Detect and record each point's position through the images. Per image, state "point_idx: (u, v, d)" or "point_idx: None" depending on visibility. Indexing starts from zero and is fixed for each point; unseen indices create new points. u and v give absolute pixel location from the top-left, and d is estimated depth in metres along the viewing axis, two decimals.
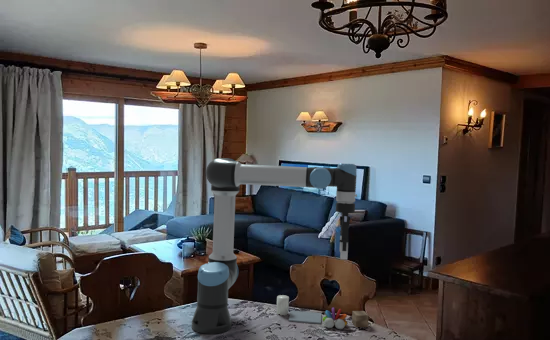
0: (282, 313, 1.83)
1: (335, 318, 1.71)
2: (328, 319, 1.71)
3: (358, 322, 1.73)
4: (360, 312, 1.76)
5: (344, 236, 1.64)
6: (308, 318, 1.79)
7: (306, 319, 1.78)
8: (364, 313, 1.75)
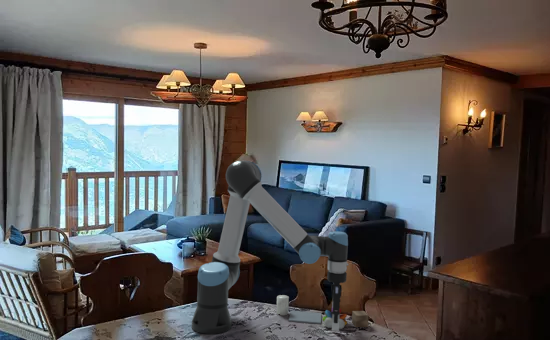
0: (282, 313, 1.83)
1: None
2: (328, 319, 1.71)
3: (358, 322, 1.73)
4: (360, 312, 1.76)
5: (335, 309, 1.64)
6: (308, 318, 1.79)
7: (306, 319, 1.78)
8: (364, 313, 1.75)
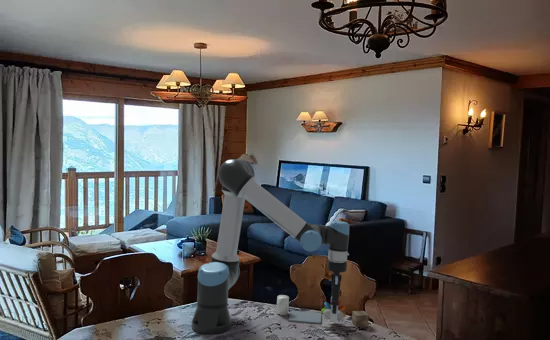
0: (282, 313, 1.83)
1: None
2: (327, 310, 1.71)
3: (358, 322, 1.73)
4: (360, 312, 1.76)
5: (334, 300, 1.66)
6: (308, 318, 1.79)
7: (306, 319, 1.78)
8: (364, 313, 1.75)
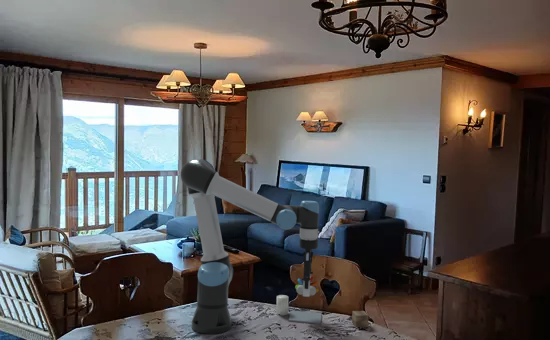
0: (282, 313, 1.83)
1: None
2: (300, 286, 1.78)
3: (358, 322, 1.73)
4: (360, 312, 1.76)
5: (306, 275, 1.73)
6: (308, 318, 1.79)
7: (306, 319, 1.78)
8: (364, 313, 1.75)
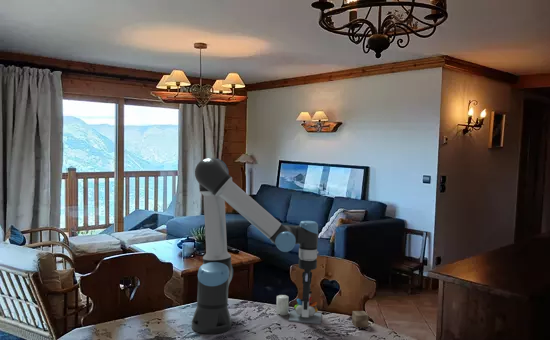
0: (283, 313, 1.83)
1: None
2: (299, 306, 1.78)
3: (358, 322, 1.73)
4: (360, 312, 1.76)
5: (305, 296, 1.73)
6: (308, 318, 1.79)
7: (306, 319, 1.78)
8: (364, 313, 1.75)
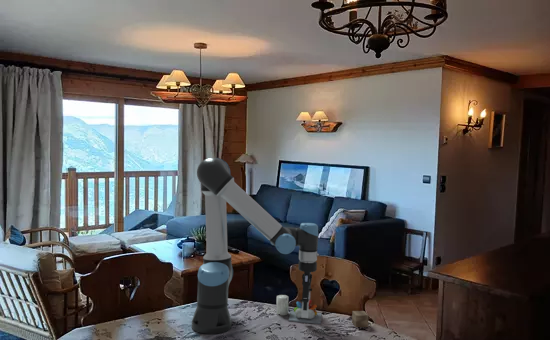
0: (283, 313, 1.83)
1: None
2: (299, 310, 1.78)
3: (358, 322, 1.73)
4: (360, 312, 1.76)
5: (304, 296, 1.72)
6: None
7: (306, 319, 1.78)
8: (364, 313, 1.75)
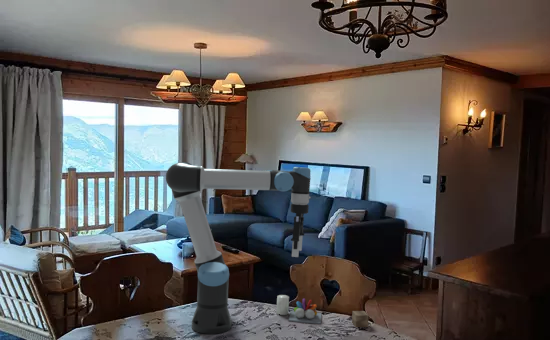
0: (283, 313, 1.83)
1: (305, 308, 1.79)
2: (299, 309, 1.78)
3: (358, 322, 1.73)
4: (360, 312, 1.76)
5: (295, 235, 1.76)
6: None
7: (306, 319, 1.78)
8: (364, 313, 1.75)
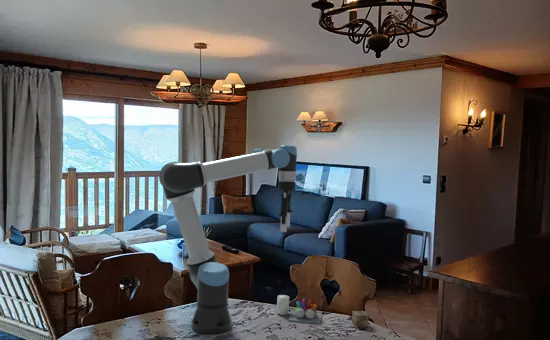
0: (284, 313, 1.83)
1: (305, 308, 1.79)
2: (299, 309, 1.78)
3: (358, 322, 1.73)
4: (360, 312, 1.76)
5: (283, 210, 1.82)
6: None
7: (306, 319, 1.78)
8: (364, 313, 1.75)
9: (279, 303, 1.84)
